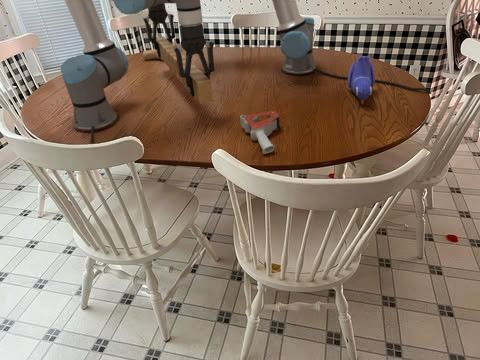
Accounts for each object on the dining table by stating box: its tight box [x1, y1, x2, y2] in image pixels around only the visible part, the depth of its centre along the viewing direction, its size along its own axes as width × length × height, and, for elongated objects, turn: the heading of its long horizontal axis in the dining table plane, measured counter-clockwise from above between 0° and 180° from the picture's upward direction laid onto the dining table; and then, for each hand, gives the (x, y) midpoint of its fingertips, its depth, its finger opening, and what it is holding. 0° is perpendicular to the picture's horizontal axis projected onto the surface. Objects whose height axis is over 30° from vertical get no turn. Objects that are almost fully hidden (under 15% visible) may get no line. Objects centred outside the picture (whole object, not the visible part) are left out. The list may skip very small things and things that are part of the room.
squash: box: [142, 40, 179, 61], centre depth 190 cm, size 11×20×9 cm, turn 92°
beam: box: [156, 35, 214, 105], centre depth 144 cm, size 67×5×7 cm, turn 23°
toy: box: [347, 55, 376, 106], centre depth 135 cm, size 10×17×25 cm
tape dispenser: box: [239, 110, 280, 155], centre depth 117 cm, size 18×5×20 cm
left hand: (199, 93), depth 126 cm, fingers closed on beam, 5 cm apart
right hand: (165, 55), depth 166 cm, fingers closed on beam, 5 cm apart
